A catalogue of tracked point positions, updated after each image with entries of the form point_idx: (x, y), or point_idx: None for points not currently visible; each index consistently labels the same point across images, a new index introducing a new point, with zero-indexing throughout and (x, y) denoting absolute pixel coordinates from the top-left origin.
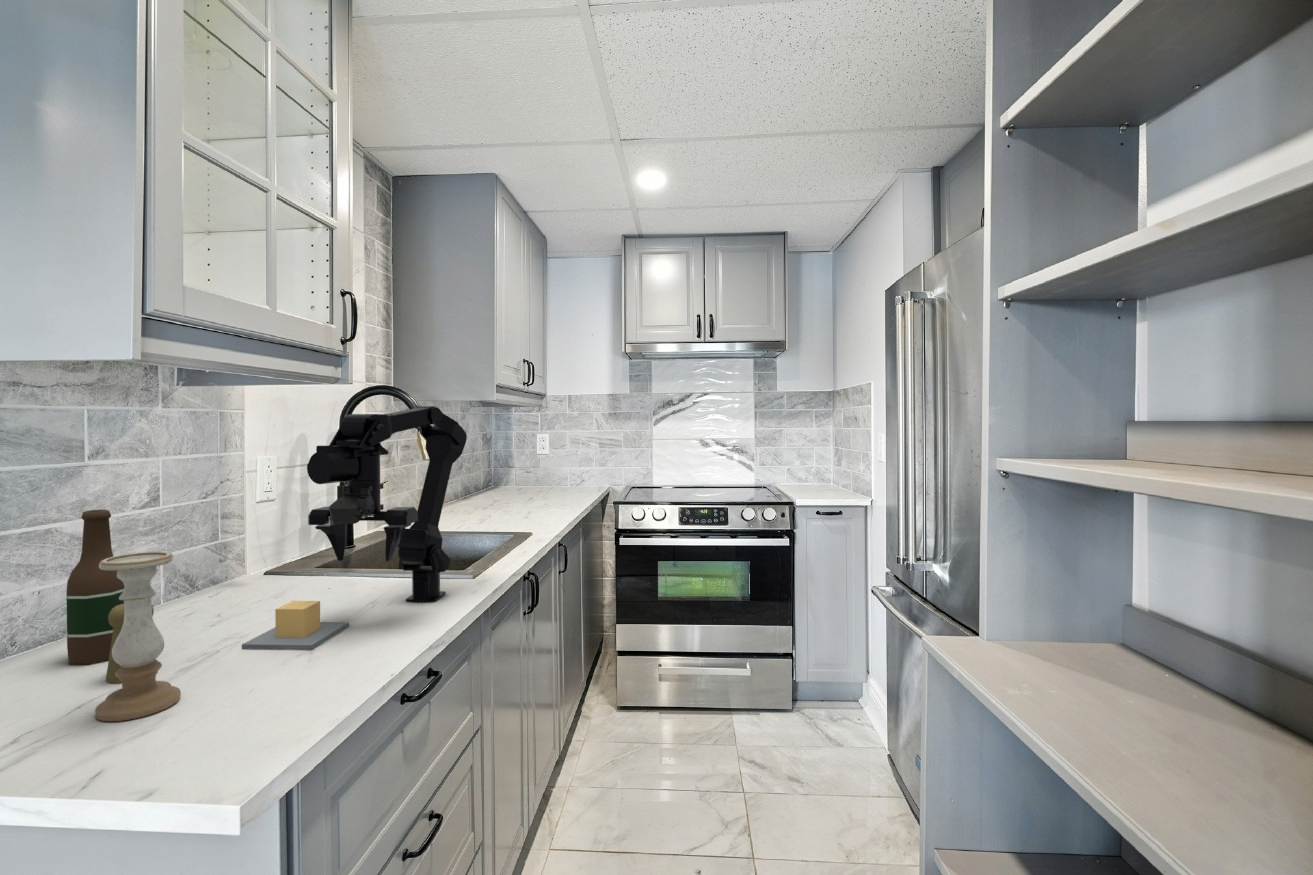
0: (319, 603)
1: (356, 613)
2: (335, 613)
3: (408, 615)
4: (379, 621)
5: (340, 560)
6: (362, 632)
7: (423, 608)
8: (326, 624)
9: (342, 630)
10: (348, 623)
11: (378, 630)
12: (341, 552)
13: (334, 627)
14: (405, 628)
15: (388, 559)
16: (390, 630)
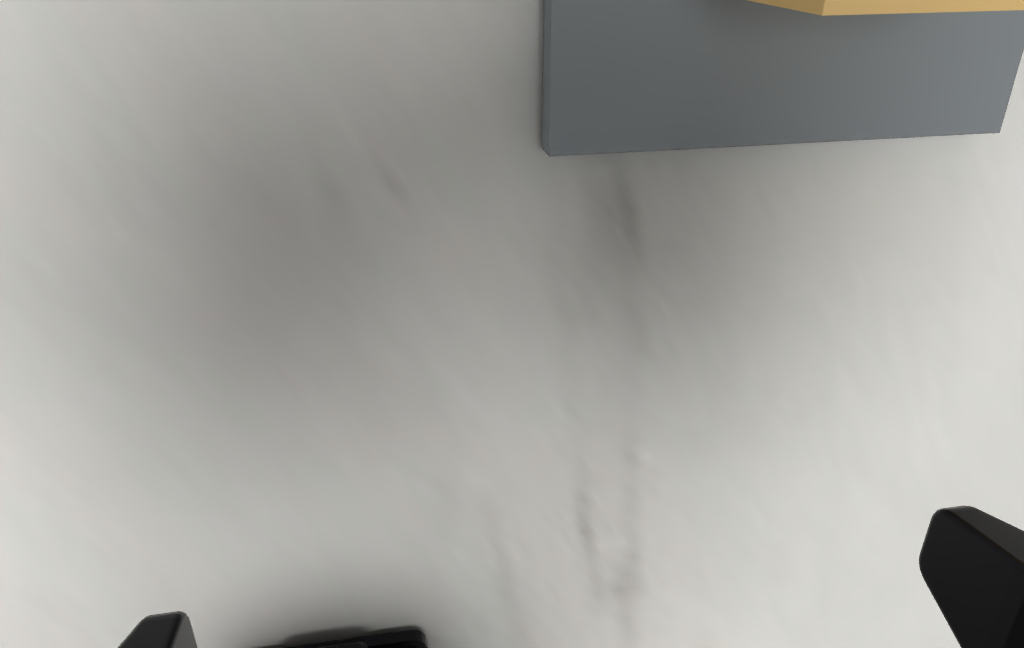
0: (811, 2)
1: (625, 402)
2: (758, 385)
3: (236, 413)
4: (374, 272)
5: (937, 515)
6: (356, 10)
7: (224, 548)
8: (695, 86)
9: (543, 47)
10: (547, 144)
11: (250, 69)
12: (1016, 630)
13: (598, 13)
14: (47, 135)
15: (128, 639)
16: (145, 76)
